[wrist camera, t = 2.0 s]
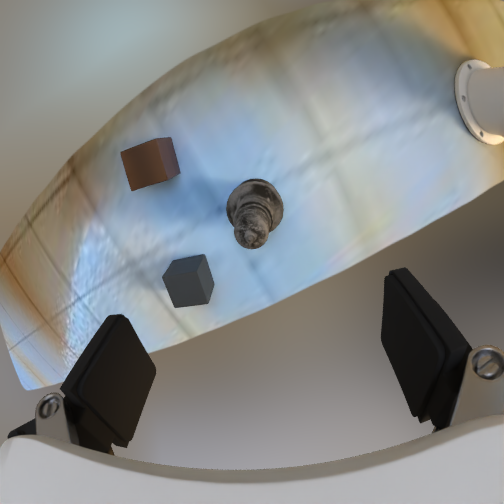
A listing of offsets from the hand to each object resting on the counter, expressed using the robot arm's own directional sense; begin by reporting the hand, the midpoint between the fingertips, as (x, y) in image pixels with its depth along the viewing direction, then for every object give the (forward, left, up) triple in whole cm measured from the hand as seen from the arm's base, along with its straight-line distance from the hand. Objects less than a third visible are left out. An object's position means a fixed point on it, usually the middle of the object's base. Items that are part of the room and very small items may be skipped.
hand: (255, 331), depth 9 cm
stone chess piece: (+1, +1, -24) cm, 24 cm away
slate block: (+11, +9, -24) cm, 28 cm away
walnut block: (+11, -6, -24) cm, 27 cm away
